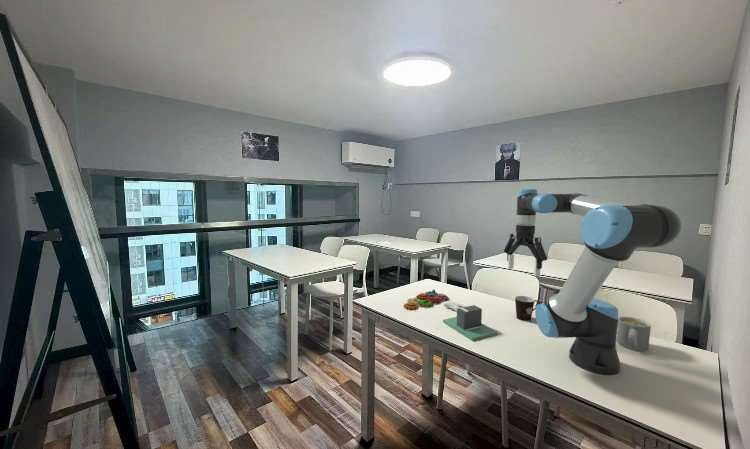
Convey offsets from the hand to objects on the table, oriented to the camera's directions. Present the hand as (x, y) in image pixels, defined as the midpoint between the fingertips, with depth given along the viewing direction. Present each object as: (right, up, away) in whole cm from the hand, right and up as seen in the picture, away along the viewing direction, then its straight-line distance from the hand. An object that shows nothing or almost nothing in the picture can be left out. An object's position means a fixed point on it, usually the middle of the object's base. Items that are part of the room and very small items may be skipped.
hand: (523, 272), depth 134 cm
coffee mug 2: (+37, -28, -12) cm, 48 cm away
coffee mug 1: (+9, -25, +15) cm, 31 cm away
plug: (-23, -25, +5) cm, 34 cm away
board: (-23, -26, +5) cm, 35 cm away
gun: (-21, -25, +24) cm, 40 cm away
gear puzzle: (-38, -24, +38) cm, 59 cm away
